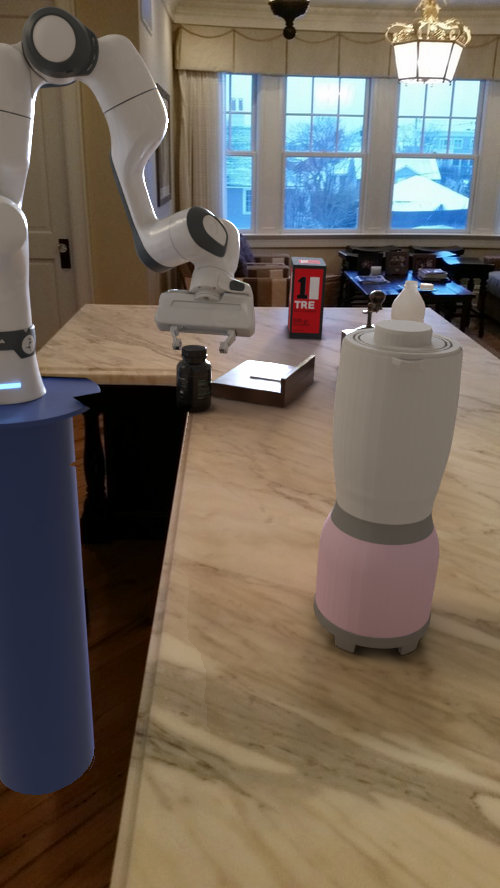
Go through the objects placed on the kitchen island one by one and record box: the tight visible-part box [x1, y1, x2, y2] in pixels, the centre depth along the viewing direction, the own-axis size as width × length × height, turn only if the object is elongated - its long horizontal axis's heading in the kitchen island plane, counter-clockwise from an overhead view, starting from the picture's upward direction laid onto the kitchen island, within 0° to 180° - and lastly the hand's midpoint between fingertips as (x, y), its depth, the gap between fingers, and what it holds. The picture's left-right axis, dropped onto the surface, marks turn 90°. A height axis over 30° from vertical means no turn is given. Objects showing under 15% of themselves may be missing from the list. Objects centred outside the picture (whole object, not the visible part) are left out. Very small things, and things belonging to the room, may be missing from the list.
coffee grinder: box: [339, 289, 387, 355], centre depth 163 cm, size 16×11×18 cm
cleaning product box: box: [287, 256, 327, 340], centre depth 199 cm, size 16×9×20 cm, turn 179°
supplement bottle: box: [175, 344, 213, 414], centre depth 136 cm, size 7×7×12 cm
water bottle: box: [389, 279, 435, 323], centre depth 139 cm, size 9×6×25 cm
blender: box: [313, 319, 464, 656], centre depth 71 cm, size 16×12×32 cm
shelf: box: [212, 354, 316, 408], centre depth 150 cm, size 16×20×6 cm
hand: (199, 350), depth 139 cm, fingers open, 8 cm apart
